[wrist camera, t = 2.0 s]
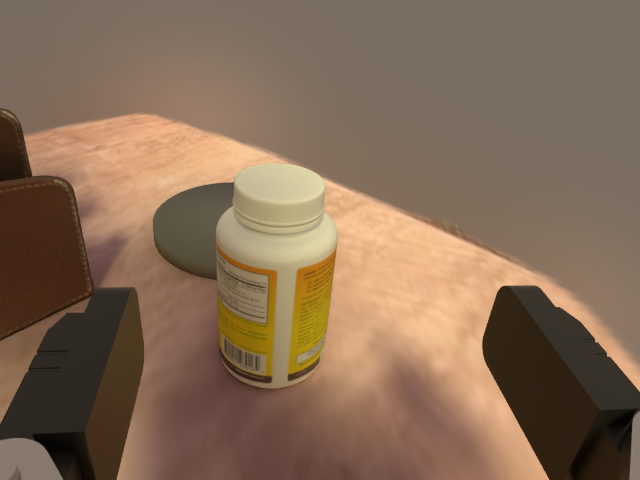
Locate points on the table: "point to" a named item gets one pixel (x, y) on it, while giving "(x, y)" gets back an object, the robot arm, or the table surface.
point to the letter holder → (36, 238)
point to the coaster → (192, 227)
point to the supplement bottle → (274, 275)
